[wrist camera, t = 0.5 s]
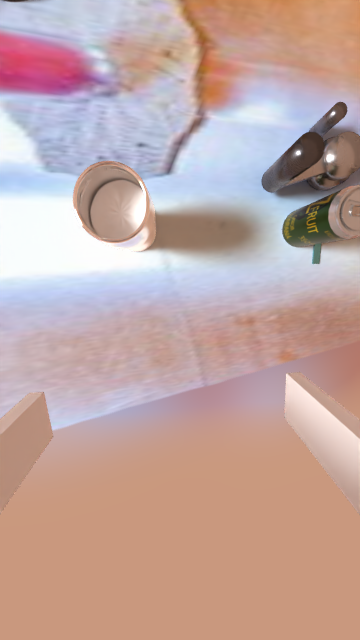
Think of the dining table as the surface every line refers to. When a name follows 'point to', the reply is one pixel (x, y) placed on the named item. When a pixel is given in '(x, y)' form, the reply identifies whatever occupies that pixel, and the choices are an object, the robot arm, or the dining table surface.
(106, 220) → the beer glass
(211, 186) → the dining table surface
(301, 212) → the beer can
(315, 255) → the base
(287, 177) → the crank
